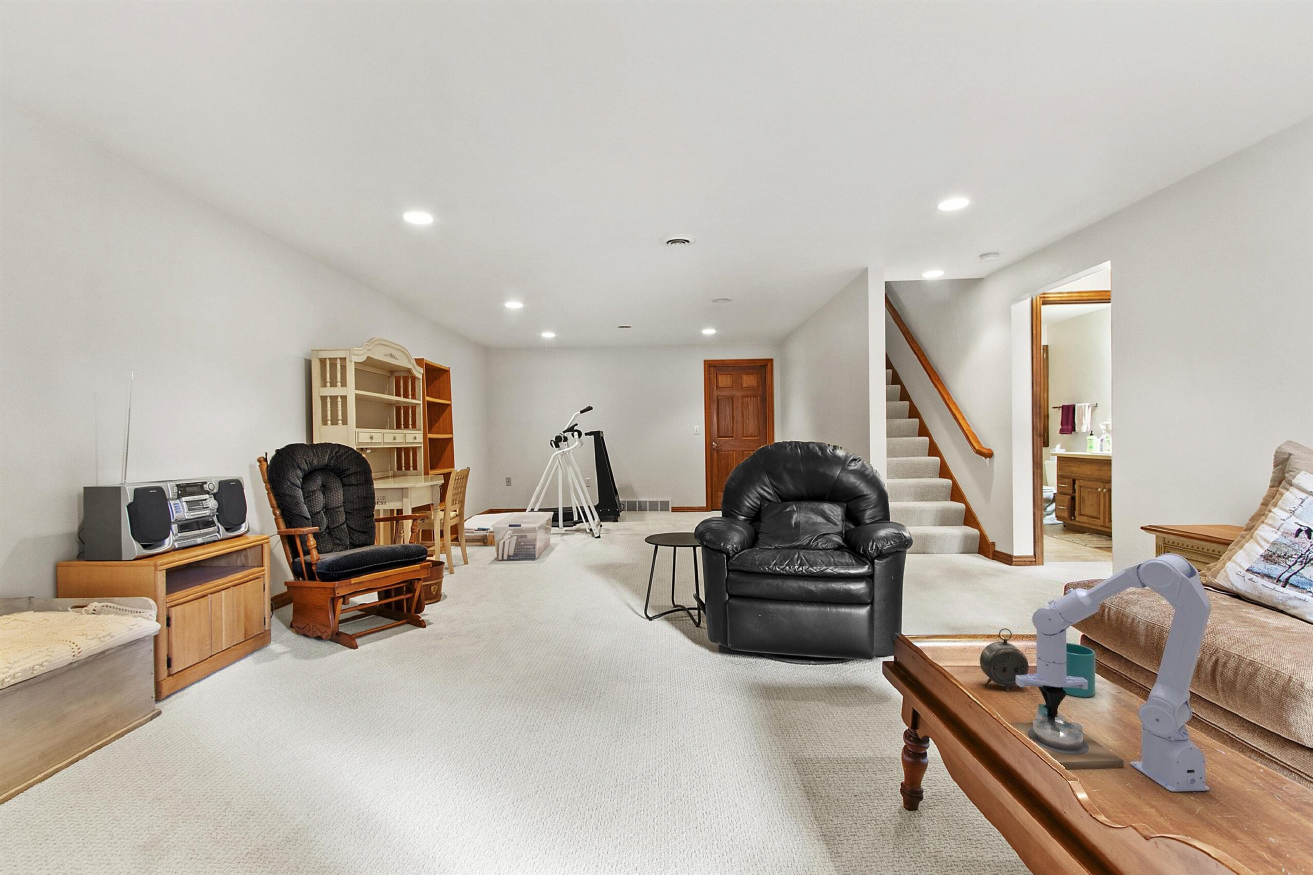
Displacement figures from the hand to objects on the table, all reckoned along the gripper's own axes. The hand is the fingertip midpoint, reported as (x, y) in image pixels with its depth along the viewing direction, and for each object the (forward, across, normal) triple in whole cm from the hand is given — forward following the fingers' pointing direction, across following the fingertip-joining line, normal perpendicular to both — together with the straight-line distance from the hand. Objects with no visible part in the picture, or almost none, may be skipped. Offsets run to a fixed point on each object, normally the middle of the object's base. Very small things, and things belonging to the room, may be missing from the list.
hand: (1051, 717), depth 134 cm
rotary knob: (+1, +2, +5) cm, 6 cm away
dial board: (+3, +2, +6) cm, 8 cm away
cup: (+4, -17, -24) cm, 29 cm away
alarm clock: (+4, -1, -23) cm, 24 cm away
